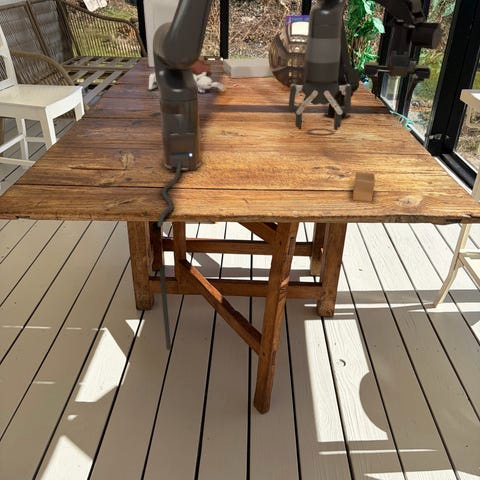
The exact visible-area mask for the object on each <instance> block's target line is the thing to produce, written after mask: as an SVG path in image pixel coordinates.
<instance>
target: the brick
mask: <svg viewBox="0 0 480 480" xmlns="http://www.w3.org/2000/svg"><path fill="white" fill-rule="evenodd" d="M375 183H376V179H375V173H373V172H372V173H370V172H362V171H355V176H354V182H353V189H352V201H362V202H370V203H372V202H373V195H374V190H375Z"/></svg>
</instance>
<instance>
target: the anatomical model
mask: <svg viewBox="0 0 480 480" xmlns="http://www.w3.org/2000/svg"><path fill="white" fill-rule="evenodd" d="M211 67H212V66H211V62H210V60H209V59H208V57H207V56H206V55H201V54H200V57H199V59H198V61H197V62H196V63H195V64H194V65H193V66H192V72H193V74H195V75H197V76H198V75H200V74H204V73H203V72H206V76H207V75H209V74H210V72H211Z"/></svg>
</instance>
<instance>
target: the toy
mask: <svg viewBox="0 0 480 480" xmlns="http://www.w3.org/2000/svg"><path fill="white" fill-rule="evenodd" d="M203 73H204V74H200V75H198V76H197V75H195V74H194V73H193V76H194V79H195V81H196V83H197V86H198V93H201V94H203V93H205V92H206V90H210V89H212V88H216V89H217V88H218V90H220V91H221V92H223V93H224V92H225V91H227V88H226V86H225V85H224V84H223V83H221V82H219V81H218V82H217V81H214V82H213V80H212V78H211V77H209V76H207V75H206V72H203ZM156 88H158V86H157V83H156V77H155V71H154V72H153V73H150V74H149V77H148V91H151V90H154V89H156Z"/></svg>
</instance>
